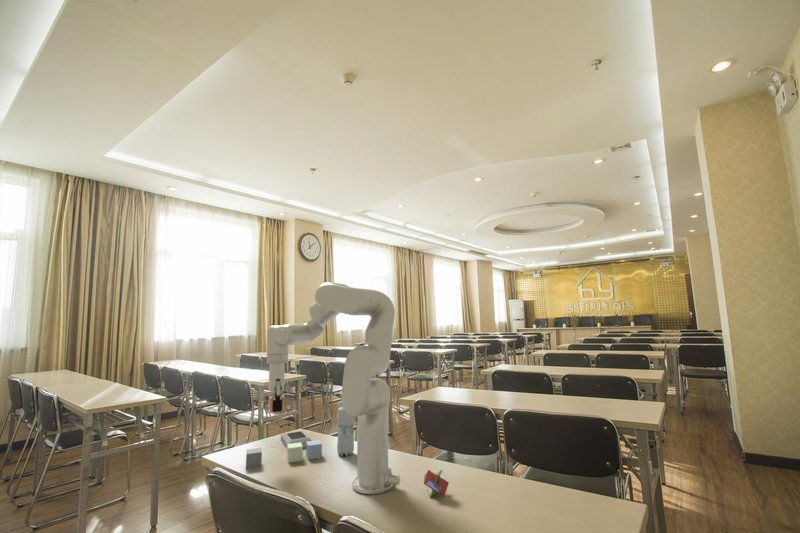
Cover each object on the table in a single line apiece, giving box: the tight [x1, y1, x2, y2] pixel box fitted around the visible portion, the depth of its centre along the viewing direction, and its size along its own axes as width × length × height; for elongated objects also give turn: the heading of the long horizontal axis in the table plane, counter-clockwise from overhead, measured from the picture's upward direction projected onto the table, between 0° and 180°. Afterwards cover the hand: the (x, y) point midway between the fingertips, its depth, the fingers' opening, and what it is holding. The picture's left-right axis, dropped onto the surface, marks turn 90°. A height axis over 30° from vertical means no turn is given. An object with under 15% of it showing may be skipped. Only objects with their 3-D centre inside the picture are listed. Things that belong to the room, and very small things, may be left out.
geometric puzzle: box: [423, 469, 450, 497], centre depth 107 cm, size 7×7×8 cm
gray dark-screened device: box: [280, 430, 313, 449], centre depth 154 cm, size 10×4×15 cm
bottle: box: [336, 401, 355, 457], centre depth 141 cm, size 7×7×20 cm
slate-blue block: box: [305, 439, 323, 460], centre depth 138 cm, size 5×5×5 cm
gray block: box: [245, 447, 263, 470], centre depth 131 cm, size 5×5×5 cm
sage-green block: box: [286, 442, 304, 464], centre depth 136 cm, size 5×5×5 cm
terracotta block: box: [268, 394, 285, 414], centre depth 136 cm, size 5×5×5 cm
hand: (276, 409), depth 135 cm, fingers closed on terracotta block, 4 cm apart
